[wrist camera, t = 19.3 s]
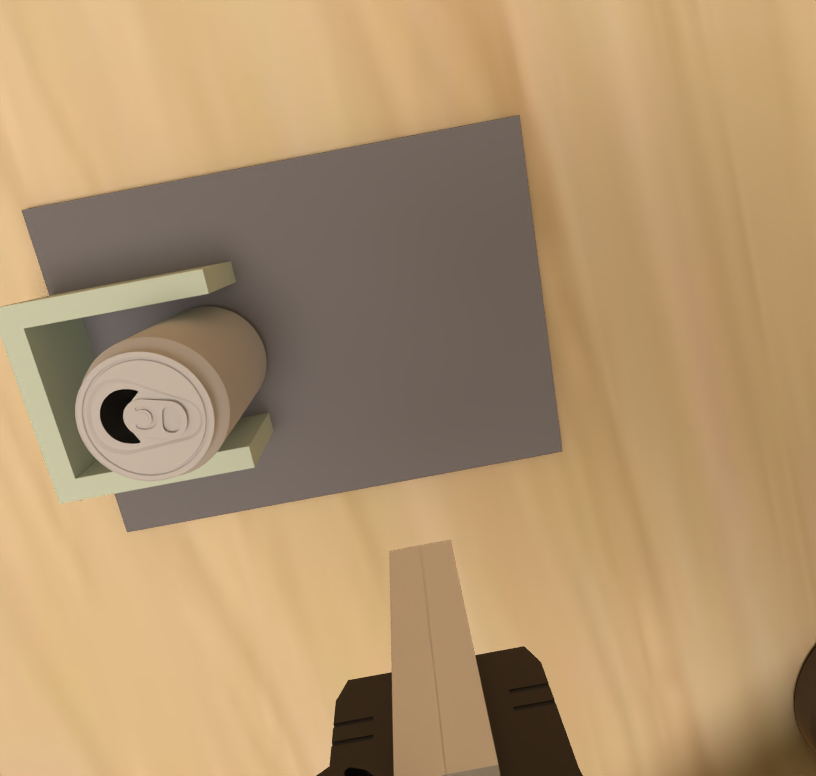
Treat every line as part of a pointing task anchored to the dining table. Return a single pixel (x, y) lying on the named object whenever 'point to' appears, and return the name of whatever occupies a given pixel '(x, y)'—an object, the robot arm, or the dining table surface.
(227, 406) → the beverage can
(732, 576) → the dining table surface
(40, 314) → the mount
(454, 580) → the robot arm
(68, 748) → the dining table surface
